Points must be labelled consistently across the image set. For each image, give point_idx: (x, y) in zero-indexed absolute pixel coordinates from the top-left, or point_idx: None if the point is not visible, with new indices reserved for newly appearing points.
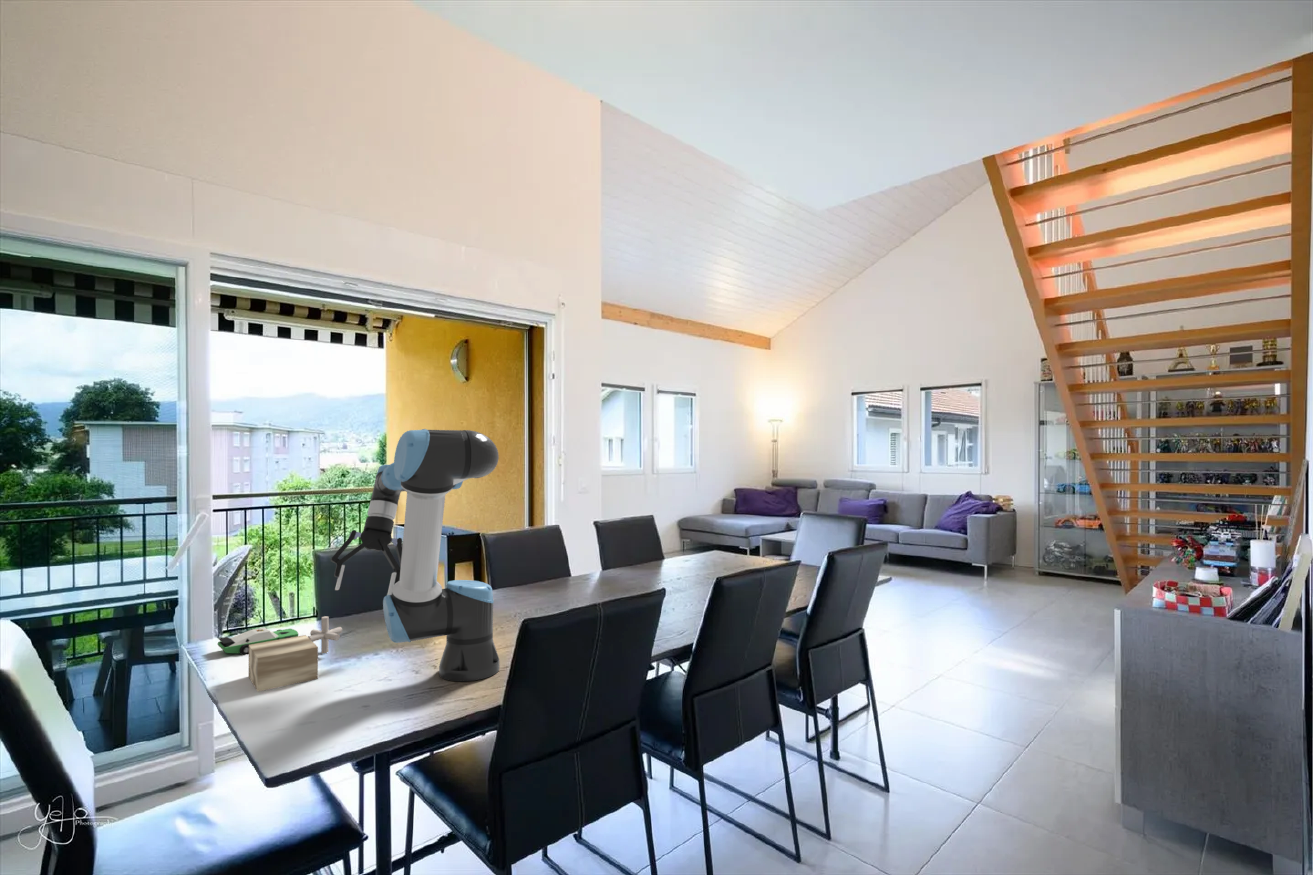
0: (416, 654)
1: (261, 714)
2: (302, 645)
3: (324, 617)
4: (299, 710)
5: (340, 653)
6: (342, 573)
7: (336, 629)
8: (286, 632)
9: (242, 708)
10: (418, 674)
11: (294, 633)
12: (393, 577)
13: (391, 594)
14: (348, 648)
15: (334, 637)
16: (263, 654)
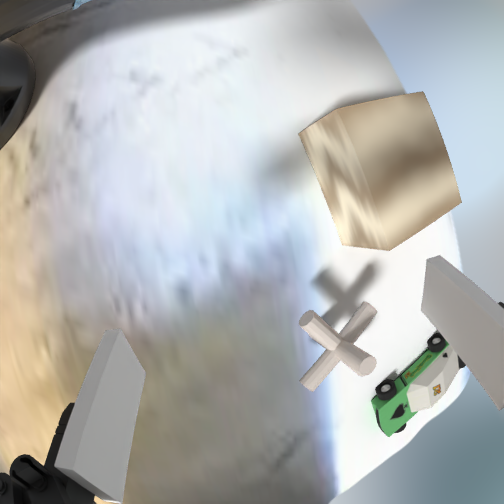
0: (74, 258)
1: (338, 16)
2: (376, 142)
3: (369, 363)
4: (288, 2)
5: (280, 318)
6: (492, 315)
7: (317, 373)
8: (395, 414)
9: (373, 51)
10: (71, 96)
11: (384, 410)
12: (79, 430)
13: (105, 337)
14: (266, 355)
15: (313, 311)
16: (424, 112)
